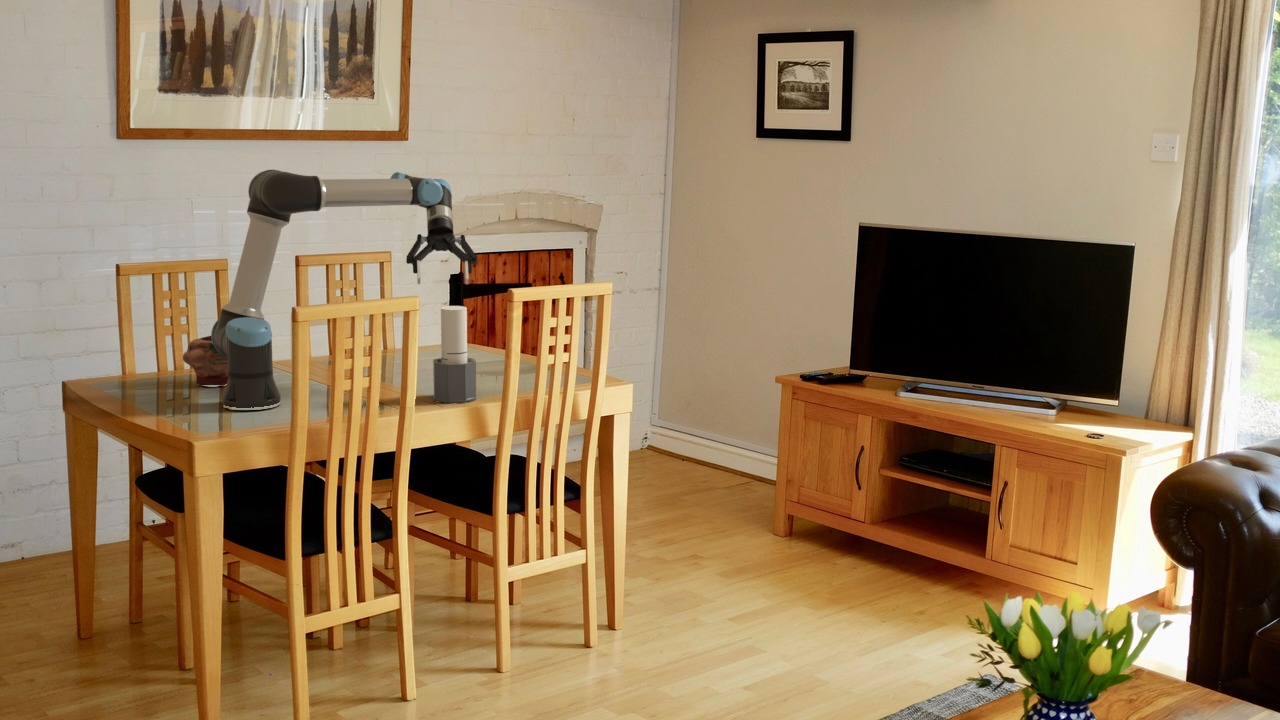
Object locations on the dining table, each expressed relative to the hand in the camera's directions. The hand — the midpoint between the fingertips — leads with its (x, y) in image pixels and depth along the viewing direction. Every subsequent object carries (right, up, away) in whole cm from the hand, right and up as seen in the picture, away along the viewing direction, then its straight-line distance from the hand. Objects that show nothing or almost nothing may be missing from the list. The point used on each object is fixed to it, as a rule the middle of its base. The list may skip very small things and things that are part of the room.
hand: (443, 281), depth 352 cm
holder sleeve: (+4, -33, -3) cm, 34 cm away
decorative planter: (-67, -30, +11) cm, 74 cm away
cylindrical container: (+4, -33, -3) cm, 33 cm away
